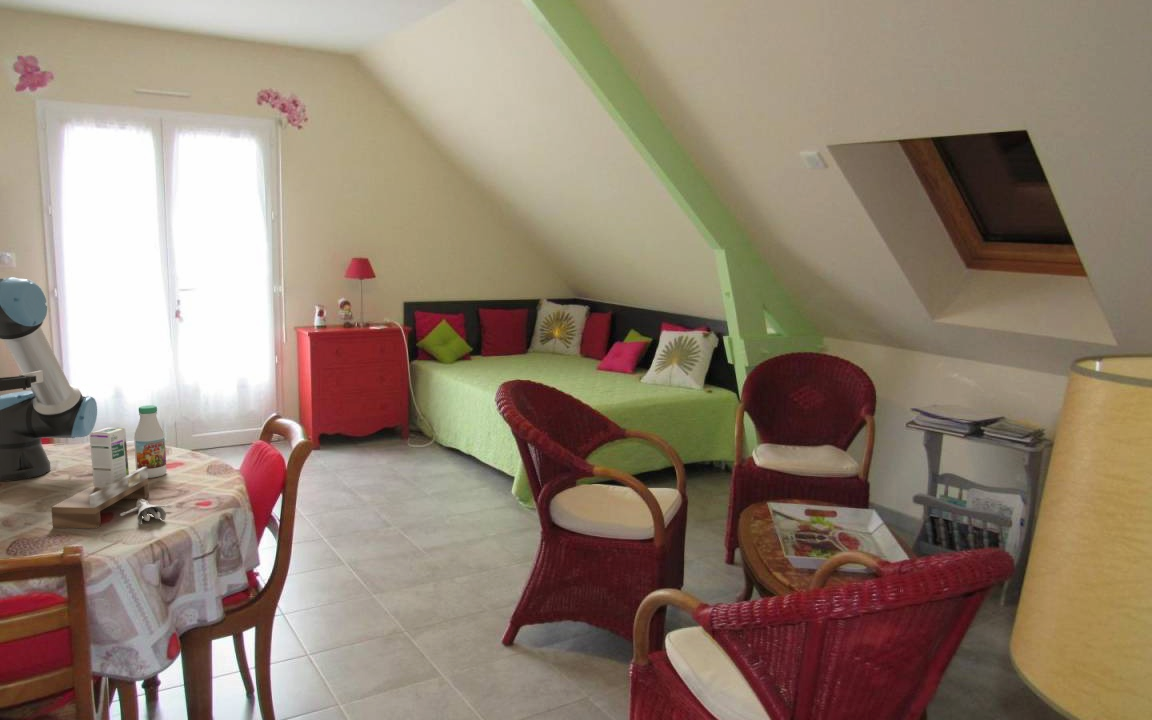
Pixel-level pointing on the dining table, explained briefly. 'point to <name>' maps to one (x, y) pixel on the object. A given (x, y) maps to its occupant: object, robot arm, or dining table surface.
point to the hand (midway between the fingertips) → (14, 375)
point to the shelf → (98, 501)
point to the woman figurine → (148, 510)
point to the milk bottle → (150, 443)
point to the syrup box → (108, 456)
